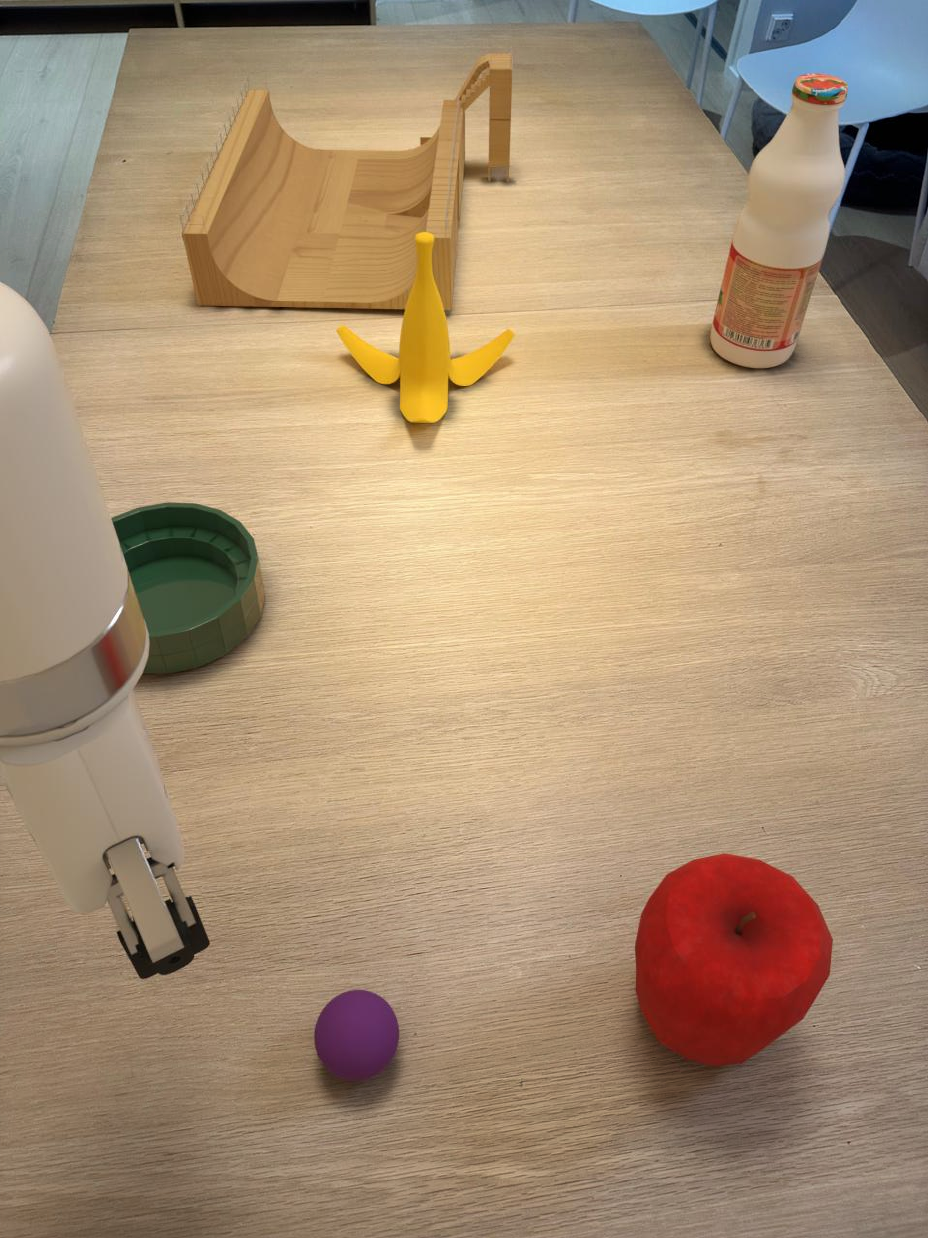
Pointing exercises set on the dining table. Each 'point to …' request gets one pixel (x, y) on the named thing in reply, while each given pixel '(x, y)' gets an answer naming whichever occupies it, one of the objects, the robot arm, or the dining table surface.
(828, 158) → the milk bottle
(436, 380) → the banana peel
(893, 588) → the dining table surface
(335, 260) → the skate ramp
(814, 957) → the apple
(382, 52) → the dining table surface
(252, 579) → the bowl
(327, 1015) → the ball
